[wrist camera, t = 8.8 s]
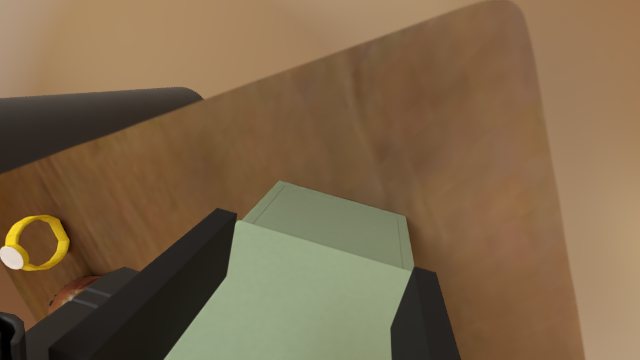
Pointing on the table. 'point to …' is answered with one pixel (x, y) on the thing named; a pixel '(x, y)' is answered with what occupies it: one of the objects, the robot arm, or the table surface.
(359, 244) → the bread box
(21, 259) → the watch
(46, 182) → the table surface
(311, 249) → the lid
